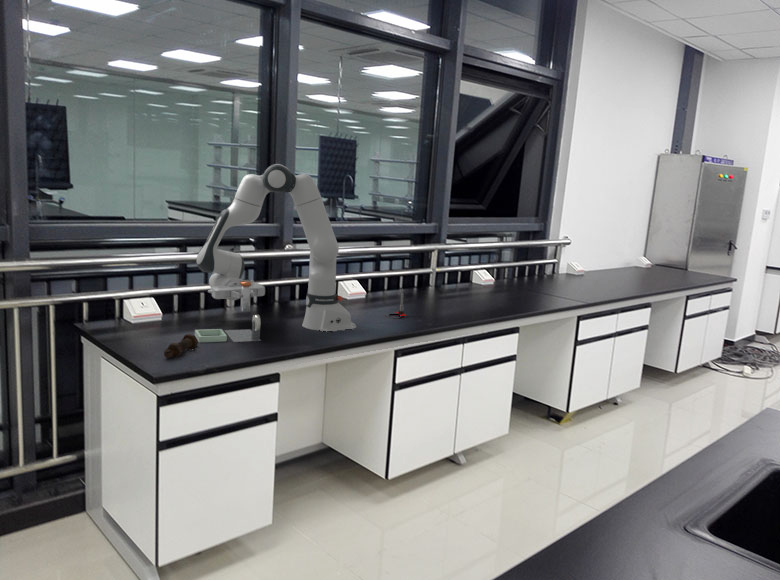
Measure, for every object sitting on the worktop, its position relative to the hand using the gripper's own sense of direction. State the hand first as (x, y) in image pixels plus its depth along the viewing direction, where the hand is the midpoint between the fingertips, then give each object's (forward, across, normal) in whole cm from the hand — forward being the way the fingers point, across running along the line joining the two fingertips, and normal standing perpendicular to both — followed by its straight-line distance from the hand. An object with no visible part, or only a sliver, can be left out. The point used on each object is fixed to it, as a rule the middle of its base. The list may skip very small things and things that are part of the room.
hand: (246, 295), depth 233 cm
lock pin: (-1, 0, +6) cm, 6 cm away
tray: (+2, -14, +16) cm, 21 cm away
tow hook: (-10, +78, +18) cm, 81 cm away
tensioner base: (+2, -2, +16) cm, 16 cm away
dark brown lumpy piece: (+12, -29, +16) cm, 35 cm away
